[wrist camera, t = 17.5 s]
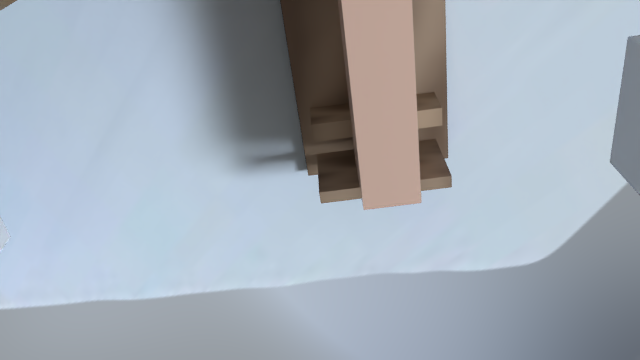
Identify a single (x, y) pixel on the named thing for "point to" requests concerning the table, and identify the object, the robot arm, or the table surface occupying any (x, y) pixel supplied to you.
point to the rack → (333, 104)
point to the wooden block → (5, 3)
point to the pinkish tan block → (382, 99)
